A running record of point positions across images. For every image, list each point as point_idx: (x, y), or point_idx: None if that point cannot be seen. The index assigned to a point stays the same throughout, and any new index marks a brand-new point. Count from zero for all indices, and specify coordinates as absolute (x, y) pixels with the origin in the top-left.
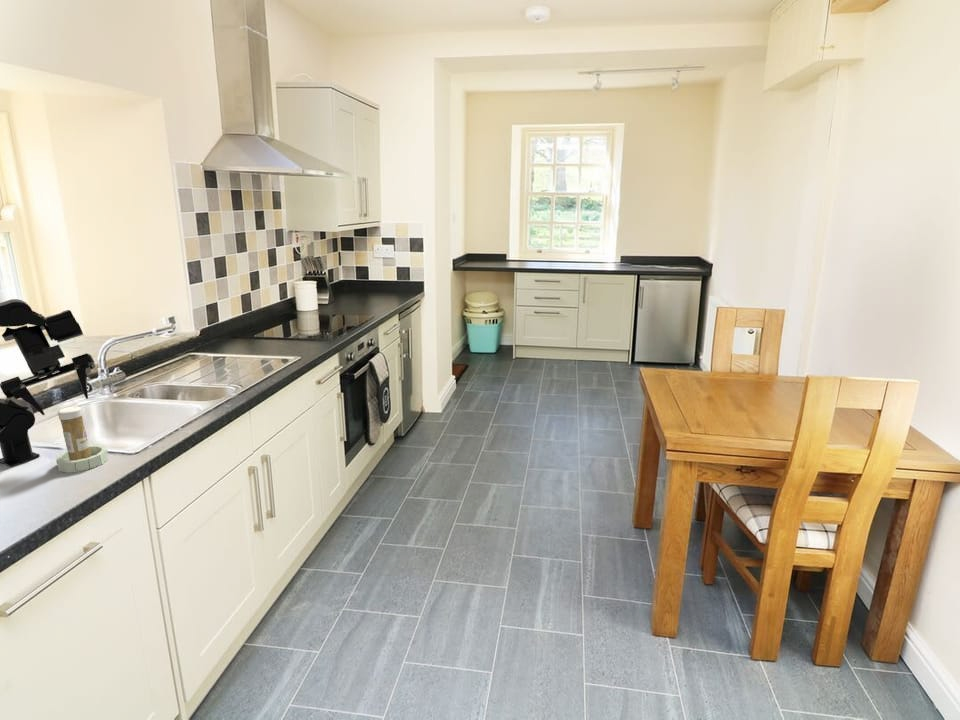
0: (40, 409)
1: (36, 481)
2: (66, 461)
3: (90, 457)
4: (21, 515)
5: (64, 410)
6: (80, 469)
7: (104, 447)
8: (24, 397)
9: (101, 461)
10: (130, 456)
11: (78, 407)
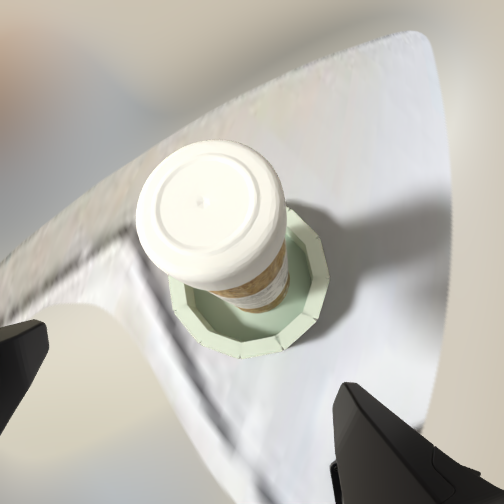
0: (366, 401)
1: (391, 244)
2: (307, 236)
3: None
4: (422, 86)
5: (237, 199)
6: None
7: None
8: (494, 489)
9: None
10: None
11: (148, 194)
